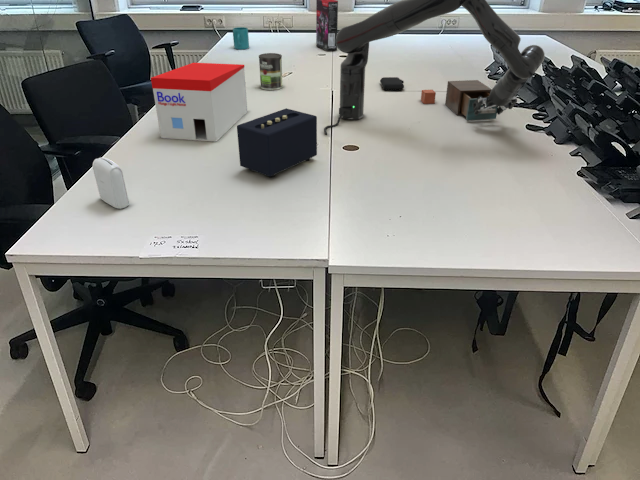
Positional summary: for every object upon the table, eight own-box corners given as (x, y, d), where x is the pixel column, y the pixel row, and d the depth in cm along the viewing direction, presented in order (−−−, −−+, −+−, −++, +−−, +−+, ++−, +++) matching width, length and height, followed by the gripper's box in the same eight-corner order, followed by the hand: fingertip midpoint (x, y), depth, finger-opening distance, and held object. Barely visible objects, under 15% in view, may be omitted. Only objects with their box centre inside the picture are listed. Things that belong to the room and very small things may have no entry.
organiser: (488, 114, 208) (492, 89, 203) (457, 115, 206) (460, 90, 201) (474, 103, 220) (477, 79, 215) (445, 104, 219) (447, 81, 214)
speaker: (287, 150, 175) (286, 105, 168) (317, 159, 168) (317, 113, 161) (239, 170, 161) (235, 122, 153) (270, 181, 154) (267, 132, 146)
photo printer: (98, 199, 145) (87, 156, 138) (112, 194, 147) (103, 152, 141) (117, 211, 139) (107, 167, 132) (132, 205, 141) (122, 162, 135)
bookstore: (160, 138, 186) (150, 77, 175) (199, 108, 215) (192, 55, 204) (216, 142, 182) (209, 80, 171) (247, 111, 212) (243, 57, 201)
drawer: (501, 122, 196) (505, 102, 192) (471, 124, 195) (474, 103, 191) (482, 108, 211) (485, 88, 207) (454, 109, 210) (457, 89, 206)
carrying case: (406, 91, 236) (402, 82, 249) (407, 84, 234) (402, 76, 247) (382, 91, 236) (379, 83, 249) (383, 84, 234) (379, 76, 247)
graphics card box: (315, 46, 322) (315, -3, 308) (325, 45, 325) (325, -3, 311) (327, 52, 309) (327, 1, 295) (338, 50, 311) (338, 0, 297)
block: (434, 103, 220) (435, 92, 218) (423, 103, 220) (424, 92, 217) (431, 100, 224) (432, 89, 222) (420, 100, 224) (421, 89, 221)
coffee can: (275, 91, 237) (273, 58, 230) (256, 88, 241) (254, 56, 234) (287, 85, 245) (286, 54, 238) (268, 83, 249) (266, 52, 242)
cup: (231, 50, 313) (229, 30, 307) (236, 46, 323) (234, 27, 318) (246, 50, 312) (245, 30, 307) (250, 46, 323) (249, 27, 317)
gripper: (487, 100, 177) (469, 122, 192) (527, 99, 178) (507, 121, 194) (483, 80, 179) (466, 104, 194) (523, 79, 180) (503, 102, 196)
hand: (486, 112), depth 194 cm, fingers open, 8 cm apart
